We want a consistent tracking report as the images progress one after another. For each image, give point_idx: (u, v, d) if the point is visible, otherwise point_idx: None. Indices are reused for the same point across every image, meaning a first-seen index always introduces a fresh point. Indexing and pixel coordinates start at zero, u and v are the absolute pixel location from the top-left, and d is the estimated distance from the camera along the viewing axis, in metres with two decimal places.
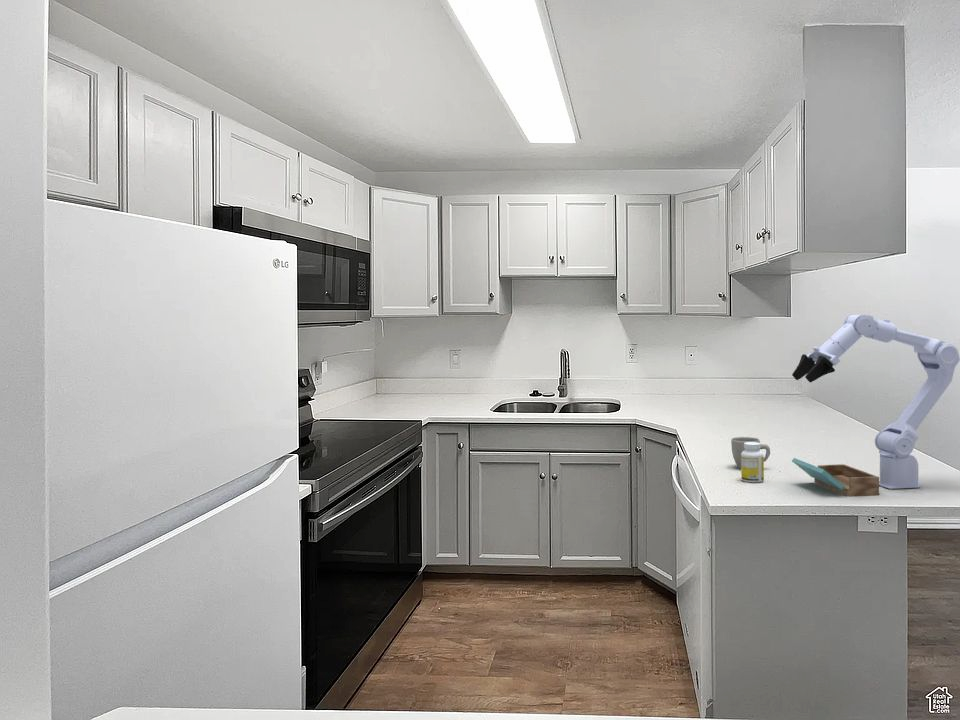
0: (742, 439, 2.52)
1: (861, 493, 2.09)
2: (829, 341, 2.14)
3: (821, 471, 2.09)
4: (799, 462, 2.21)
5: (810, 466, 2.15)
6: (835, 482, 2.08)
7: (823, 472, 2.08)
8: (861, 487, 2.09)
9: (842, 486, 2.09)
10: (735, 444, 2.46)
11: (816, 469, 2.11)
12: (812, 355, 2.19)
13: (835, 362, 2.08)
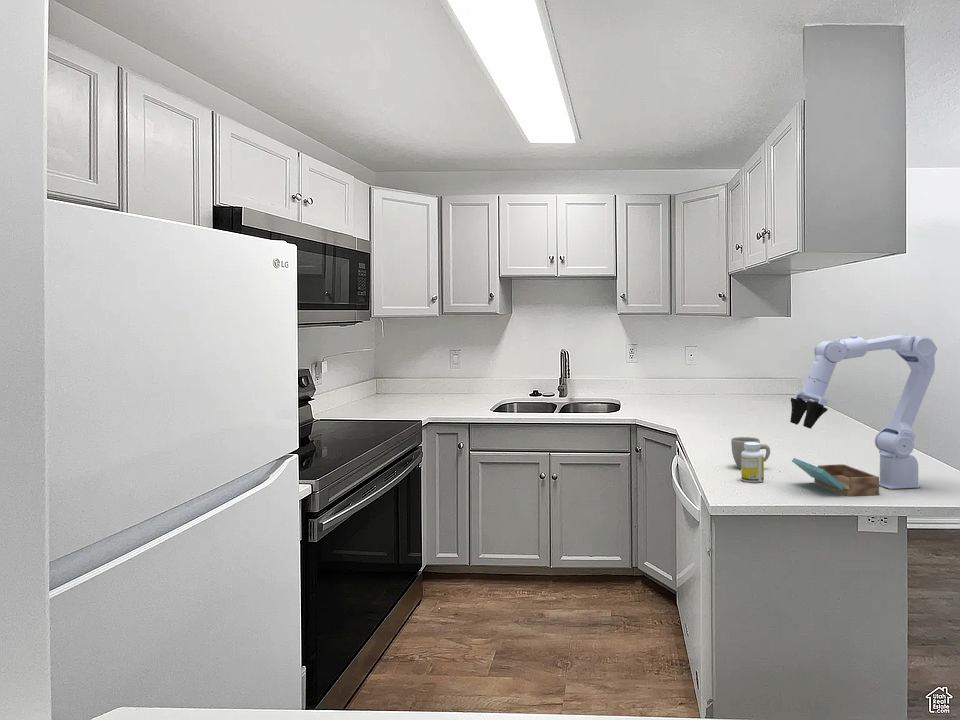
0: (742, 439, 2.52)
1: (861, 493, 2.09)
2: (809, 380, 2.14)
3: (821, 471, 2.09)
4: (799, 462, 2.21)
5: (810, 466, 2.15)
6: (835, 482, 2.08)
7: (823, 472, 2.08)
8: (861, 487, 2.09)
9: (842, 486, 2.09)
10: (735, 444, 2.46)
11: (816, 469, 2.11)
12: (800, 395, 2.20)
13: (824, 403, 2.08)
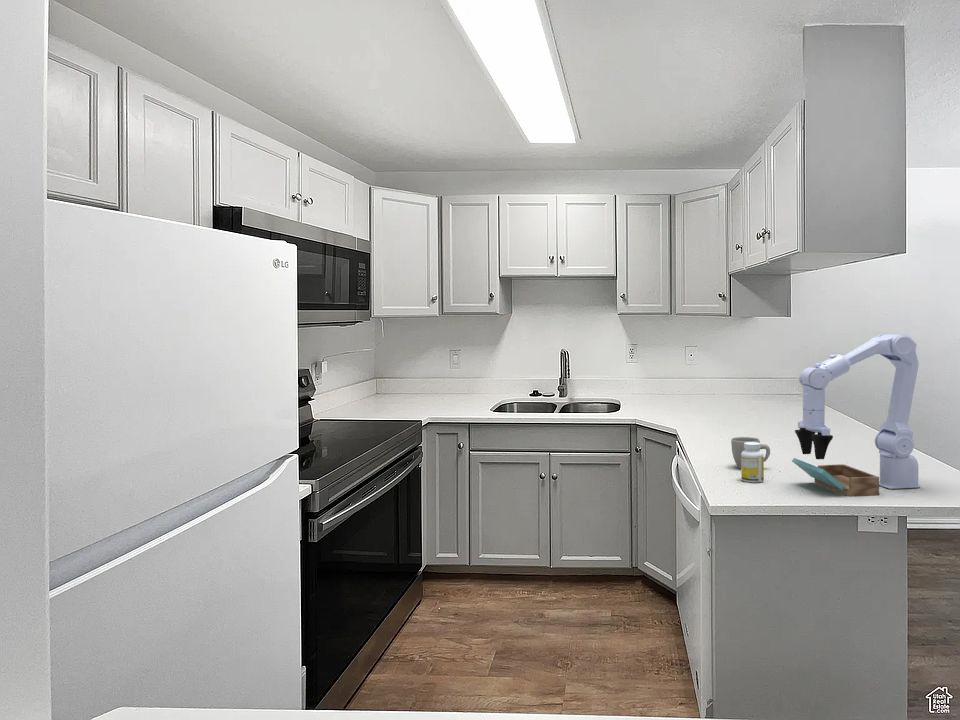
0: (742, 439, 2.52)
1: (861, 493, 2.09)
2: (806, 412, 2.15)
3: (821, 471, 2.09)
4: (799, 462, 2.21)
5: (810, 466, 2.15)
6: (835, 482, 2.08)
7: (823, 472, 2.08)
8: (861, 487, 2.09)
9: (842, 486, 2.09)
10: (735, 444, 2.46)
11: (816, 469, 2.11)
12: None
13: (827, 433, 2.09)
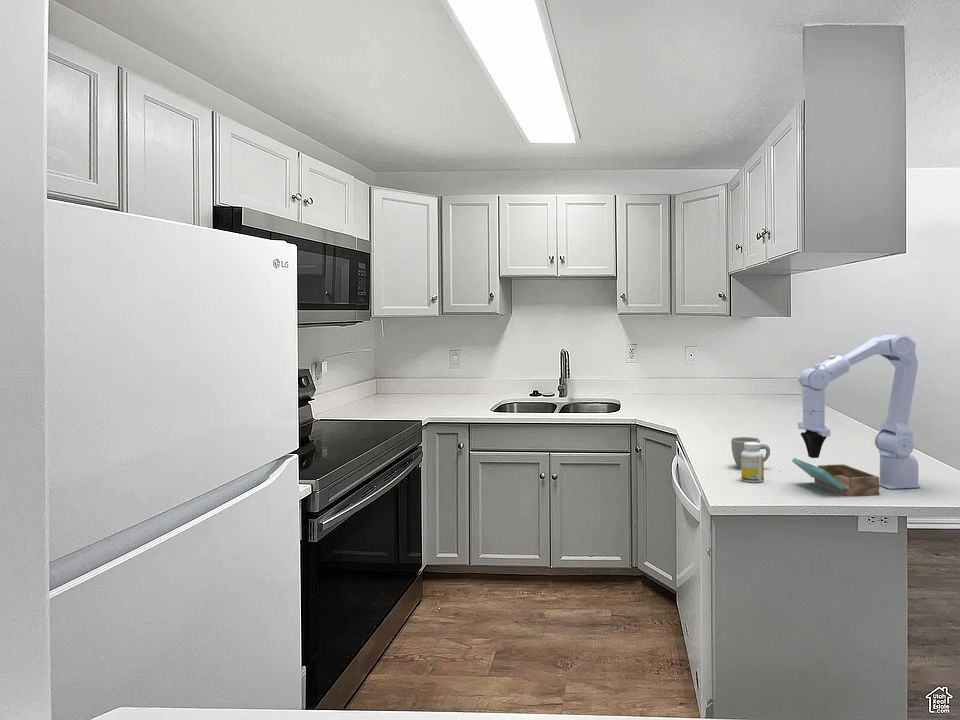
0: (742, 439, 2.52)
1: (861, 493, 2.09)
2: (806, 413, 2.15)
3: (821, 471, 2.09)
4: (799, 462, 2.21)
5: (810, 466, 2.15)
6: (835, 482, 2.08)
7: (823, 472, 2.08)
8: (861, 487, 2.09)
9: (842, 486, 2.09)
10: (735, 444, 2.46)
11: (816, 469, 2.11)
12: None
13: (828, 434, 2.09)
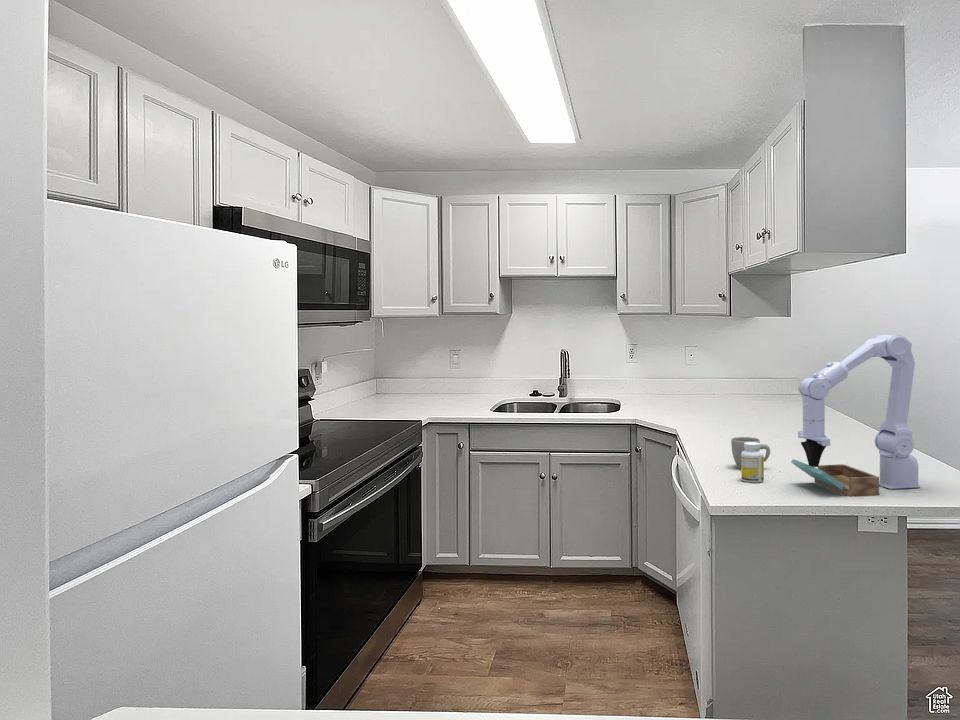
0: (742, 439, 2.52)
1: (861, 493, 2.09)
2: (806, 423, 2.15)
3: (820, 472, 2.09)
4: (798, 463, 2.21)
5: (809, 467, 2.15)
6: (835, 483, 2.08)
7: (822, 473, 2.08)
8: (861, 487, 2.09)
9: (842, 486, 2.09)
10: (735, 444, 2.46)
11: (815, 470, 2.11)
12: None
13: (827, 443, 2.09)
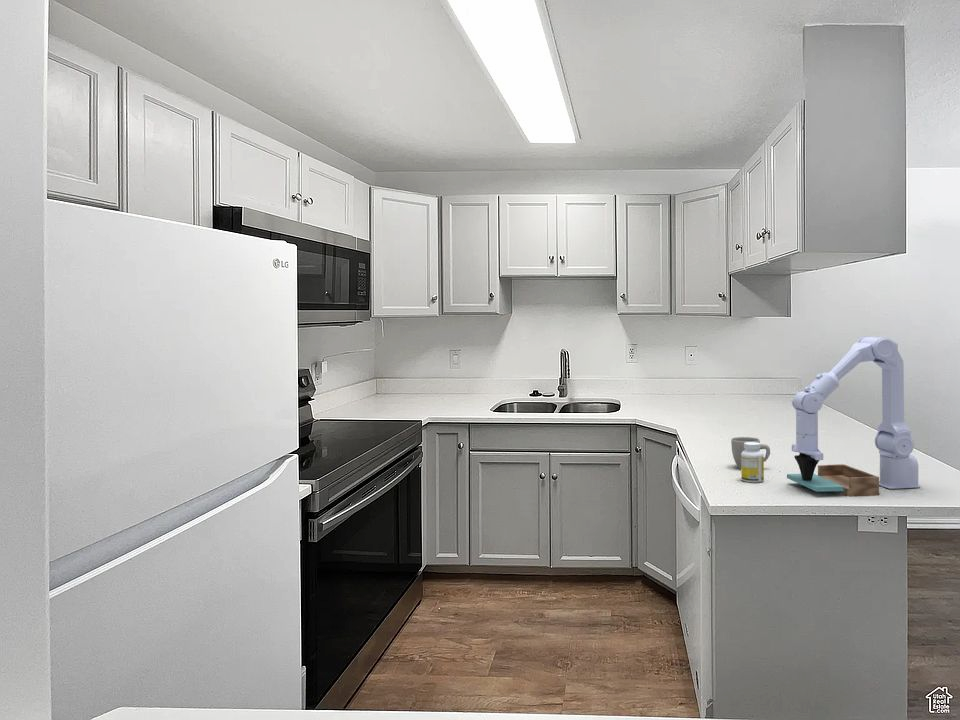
0: (742, 439, 2.52)
1: (861, 493, 2.09)
2: (799, 437, 2.15)
3: (815, 489, 2.09)
4: (793, 479, 2.21)
5: (804, 483, 2.15)
6: (833, 489, 2.09)
7: (817, 489, 2.08)
8: (861, 487, 2.09)
9: (841, 488, 2.09)
10: (735, 444, 2.46)
11: (810, 487, 2.11)
12: None
13: (821, 458, 2.09)
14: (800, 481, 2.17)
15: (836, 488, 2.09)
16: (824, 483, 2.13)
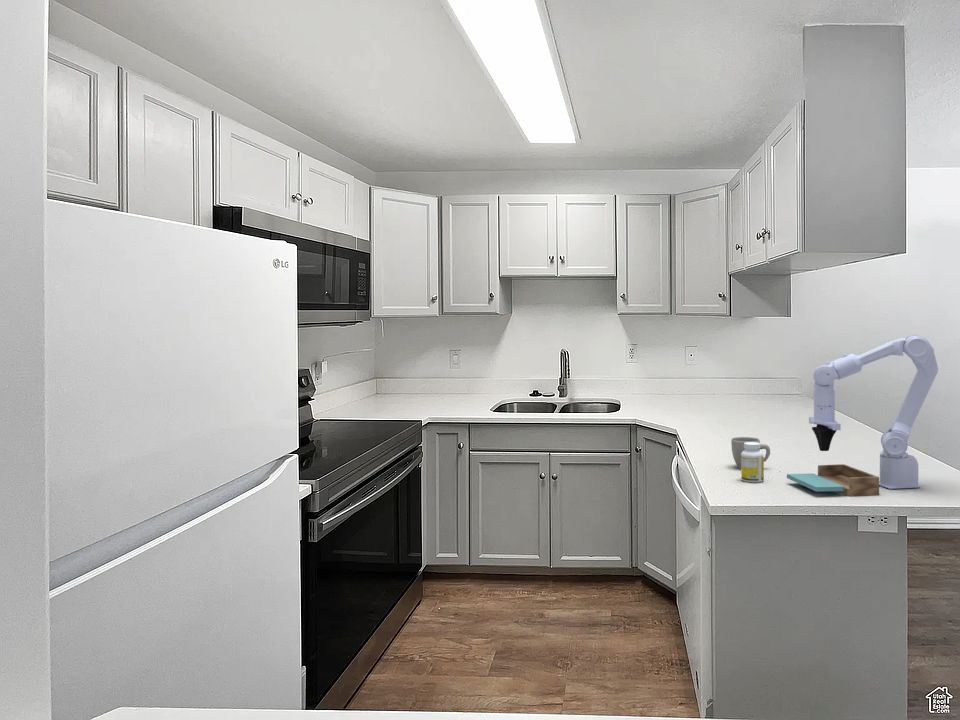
0: (742, 439, 2.52)
1: (861, 493, 2.09)
2: (816, 408, 2.24)
3: (815, 489, 2.09)
4: (793, 479, 2.21)
5: (804, 483, 2.15)
6: (833, 489, 2.09)
7: (817, 489, 2.08)
8: (861, 487, 2.09)
9: (841, 488, 2.09)
10: (735, 444, 2.46)
11: (810, 487, 2.11)
12: None
13: (838, 428, 2.18)
14: (800, 481, 2.17)
15: (836, 488, 2.09)
16: (824, 483, 2.13)
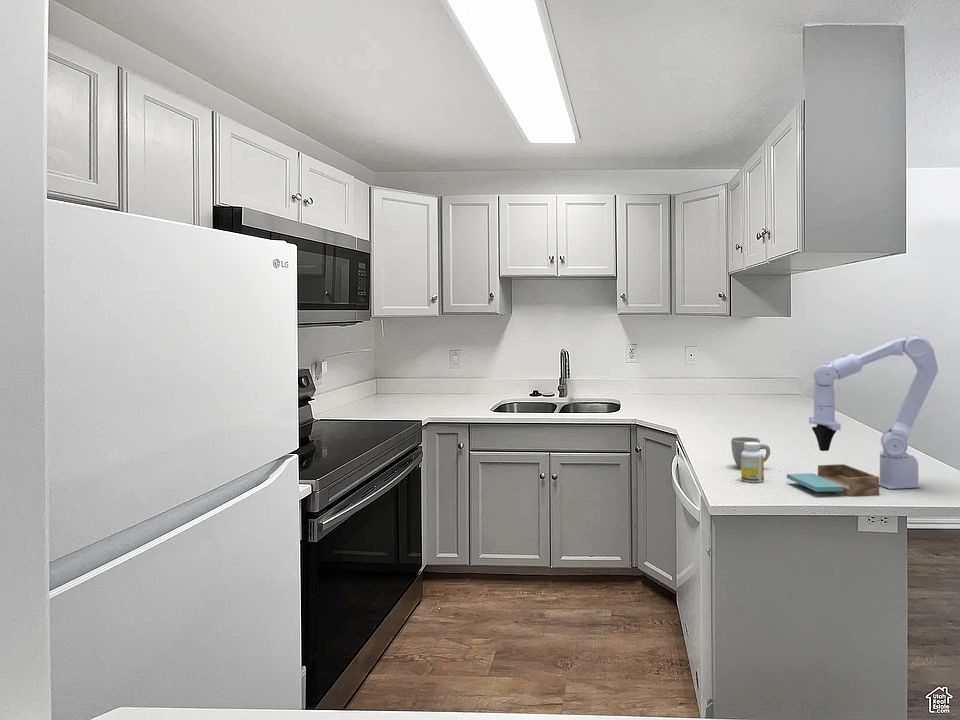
0: (742, 439, 2.52)
1: (861, 493, 2.09)
2: (817, 408, 2.24)
3: (815, 489, 2.09)
4: (793, 479, 2.21)
5: (804, 483, 2.15)
6: (833, 489, 2.09)
7: (817, 489, 2.08)
8: (861, 487, 2.09)
9: (841, 488, 2.09)
10: (735, 444, 2.46)
11: (810, 487, 2.11)
12: None
13: (838, 428, 2.18)
14: (800, 481, 2.17)
15: (836, 488, 2.09)
16: (824, 483, 2.13)
